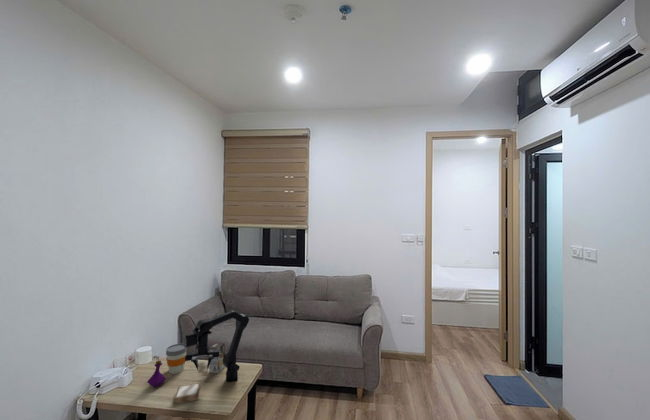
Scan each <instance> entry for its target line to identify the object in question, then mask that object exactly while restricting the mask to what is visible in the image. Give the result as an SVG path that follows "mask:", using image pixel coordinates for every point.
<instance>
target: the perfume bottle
mask: <svg viewBox="0 0 650 420" xmlns="http://www.w3.org/2000/svg"><path fill="white" fill-rule="evenodd" d="M153 359H156V362H155V364H154V367H155V370H154V372H153V374H152V376H151V377H150V378H149V379H148V380H147V384H148V385H150V386H151V387H152V388H158V387H160V386H162V385H163V383H165V382H166V380H167V377H166V376H164V374H163V373H161V372H160V368H161V366H162V365H163V363H162V360H160V355H159V354H156V355H154V356H153Z"/></svg>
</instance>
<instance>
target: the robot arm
mask: <svg viewBox="0 0 650 420" xmlns="http://www.w3.org/2000/svg"><path fill="white" fill-rule="evenodd" d="M231 319H235V330H234V334H233V337H232V340H231V343H230V346H229V349H228V352H227V353H225V354H224V358H223V360H222V361H223V365H224V366H225V367H224V368H226V372H225V379H226V382H227V383H229V382H236V381H238V380H239V374H238V371H239V370H240V365H239V364H237V352H238V349H239V345H240V343H241V340H242V339H241V338H242V336H243V333H244V330H245V329H246V328H247V326H248V325H249V322H250V318H249V317H248V316H247V315H245V314H243V313H237V312H236V311H235V310H229V311H227V312H225V313H221V314H218V315H217V316H214V317H212V318H205V319H200V320H198V322H197V323H196V326H195V328H194V329H193V331H192V333H187V334H184V337H183V340H182V344H184V347H185V348H186V347H187V348H189V347H193V346H195V347H196V348H195V349H196V350H197V352H196V353H194V351H186V356H185V361H186V362H188V361H189V362H191V363H193V365H194V366H195V368H196V370H197V371H198V364H199V358H200V357H207V356H208V358H207V361H208V366H207V369H208V370H209V365H210V362H211V360H212V359H214V358H215V357H219V356H220V349H213V351H211V352H209V348H210V345H209V335H211V334H213V332H212V331H210V330H211V329H212V328H213V327H215V326H217V325H219V324H221V323H224V322H227V321H229V320H231Z"/></svg>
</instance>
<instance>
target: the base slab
mask: <svg viewBox="0 0 650 420" xmlns="http://www.w3.org/2000/svg"><path fill="white" fill-rule="evenodd" d="M201 390H202V389H201V382H197V383H192V384H186V385H179V386H177V389H176V392H175V395H174V398H173V402H174V403H173V404H174V405H175V404H176V405H177V404H182V403H187V402H188V403H189V402H194V400H195V401H198V400H199V396H200V393H201Z"/></svg>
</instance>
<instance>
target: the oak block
mask: <svg viewBox="0 0 650 420" xmlns="http://www.w3.org/2000/svg"><path fill="white" fill-rule="evenodd" d="M207 366H208V360H207V361H200V362H198V370H197V377H198V378H201V377H207V376H208V375H209V374H208V373H209V368H208V369H207Z"/></svg>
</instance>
